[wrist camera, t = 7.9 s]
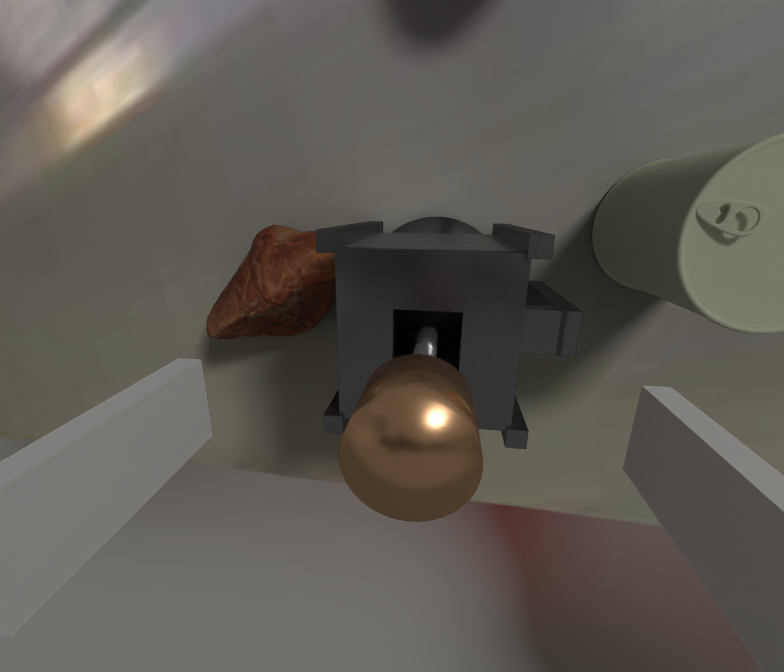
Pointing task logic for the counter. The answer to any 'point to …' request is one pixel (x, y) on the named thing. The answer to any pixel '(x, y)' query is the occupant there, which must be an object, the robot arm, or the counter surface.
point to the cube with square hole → (446, 308)
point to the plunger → (415, 429)
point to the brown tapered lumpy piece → (276, 287)
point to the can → (702, 234)
